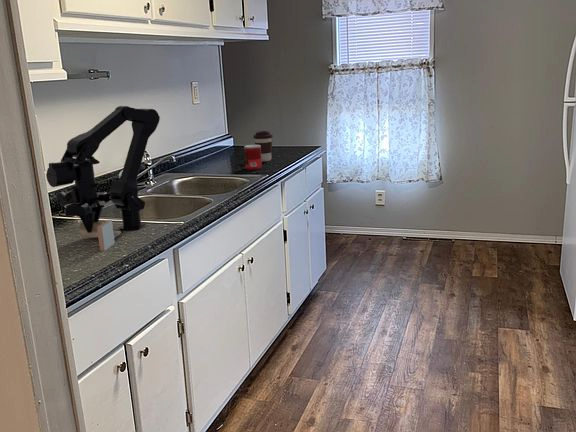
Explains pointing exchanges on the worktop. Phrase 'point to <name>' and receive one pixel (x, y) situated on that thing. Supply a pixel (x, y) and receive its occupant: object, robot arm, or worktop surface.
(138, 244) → the worktop surface
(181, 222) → the worktop surface
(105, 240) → the tile
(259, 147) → the canned food
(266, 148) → the coffee cup
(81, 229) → the turner
